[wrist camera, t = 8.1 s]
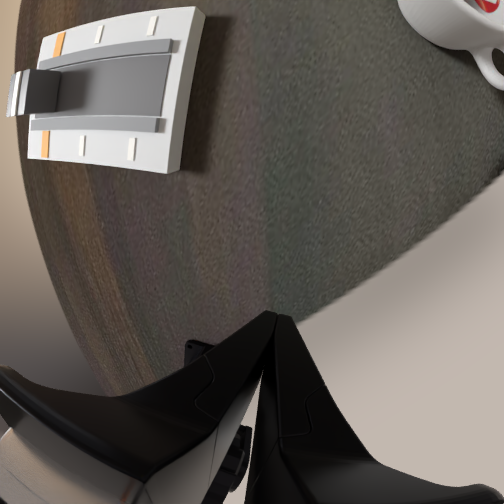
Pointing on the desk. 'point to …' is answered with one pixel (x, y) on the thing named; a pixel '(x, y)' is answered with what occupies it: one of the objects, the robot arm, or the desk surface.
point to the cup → (461, 28)
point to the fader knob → (33, 92)
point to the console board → (120, 90)
